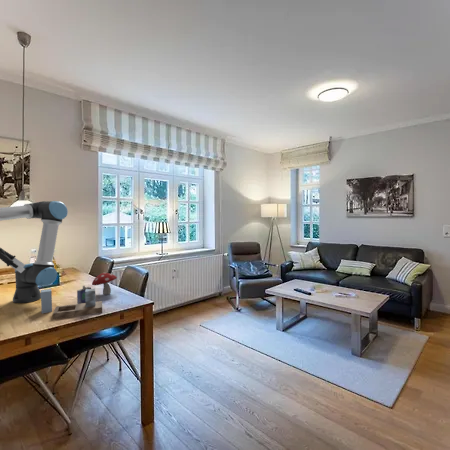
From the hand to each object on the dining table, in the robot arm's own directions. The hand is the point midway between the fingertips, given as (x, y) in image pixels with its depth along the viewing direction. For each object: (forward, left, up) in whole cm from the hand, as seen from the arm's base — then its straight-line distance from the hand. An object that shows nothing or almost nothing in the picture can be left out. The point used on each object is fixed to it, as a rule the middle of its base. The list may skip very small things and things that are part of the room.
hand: (23, 268), depth 154 cm
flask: (+29, +10, -26) cm, 40 cm away
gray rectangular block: (+10, +2, -26) cm, 28 cm away
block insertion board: (+27, -7, -26) cm, 38 cm away
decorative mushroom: (+41, +24, -26) cm, 54 cm away
